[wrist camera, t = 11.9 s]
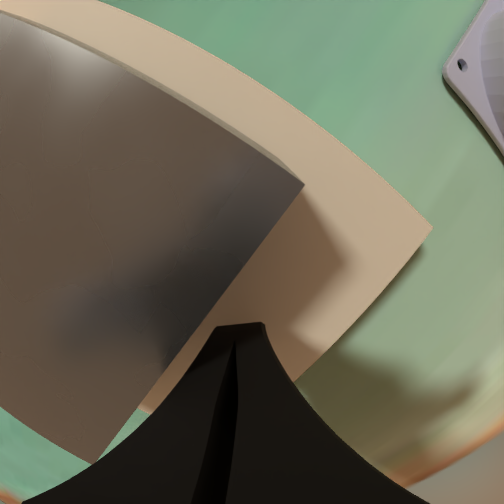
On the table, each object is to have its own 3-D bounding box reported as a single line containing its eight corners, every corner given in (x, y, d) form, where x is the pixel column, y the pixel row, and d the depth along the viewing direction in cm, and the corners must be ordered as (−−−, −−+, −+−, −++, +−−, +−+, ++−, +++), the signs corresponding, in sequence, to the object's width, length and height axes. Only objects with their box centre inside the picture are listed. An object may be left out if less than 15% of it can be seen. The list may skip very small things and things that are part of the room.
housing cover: (30, 19, 6) (-53, -4, 2) (279, 158, 8) (305, 184, 4) (-45, 255, 8) (-104, 297, 5) (124, 384, 10) (93, 465, 7)
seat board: (9, -18, 6) (-21, -30, 4) (400, 207, 11) (433, 227, 8) (-70, 196, 10) (-99, 209, 8) (222, 405, 14) (219, 444, 12)
